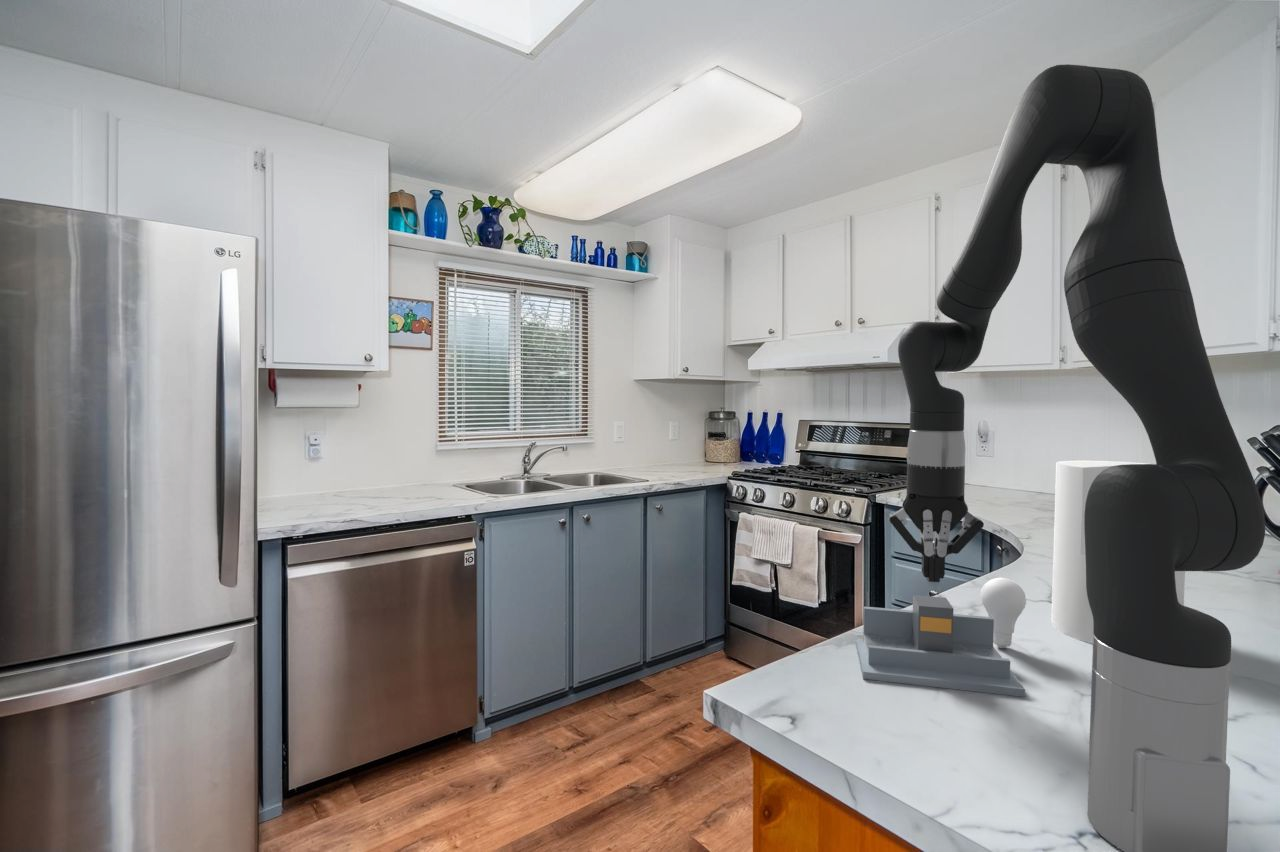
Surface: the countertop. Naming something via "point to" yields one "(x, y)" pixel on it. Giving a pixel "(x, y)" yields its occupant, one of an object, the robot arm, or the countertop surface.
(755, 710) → the countertop surface
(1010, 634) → the lightbulb
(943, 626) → the block
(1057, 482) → the cylinder
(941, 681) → the grey stepped stand
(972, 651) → the plate
